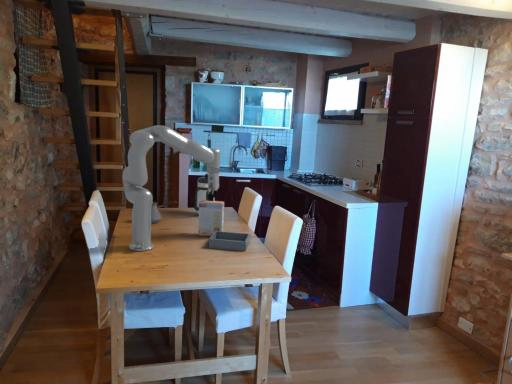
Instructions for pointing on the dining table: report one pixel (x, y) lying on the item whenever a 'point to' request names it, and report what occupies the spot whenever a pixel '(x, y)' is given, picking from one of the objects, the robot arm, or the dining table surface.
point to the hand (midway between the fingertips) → (212, 199)
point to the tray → (229, 241)
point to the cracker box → (210, 217)
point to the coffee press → (201, 192)
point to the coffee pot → (157, 212)
